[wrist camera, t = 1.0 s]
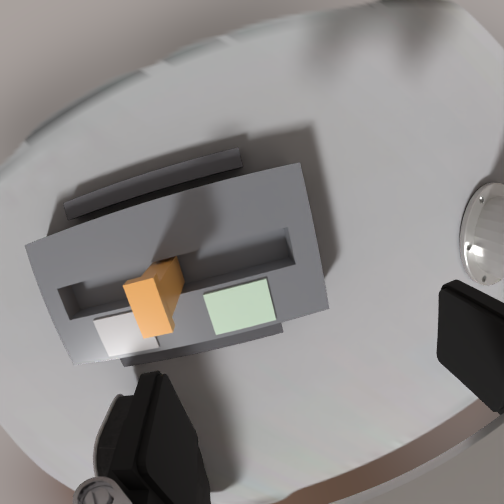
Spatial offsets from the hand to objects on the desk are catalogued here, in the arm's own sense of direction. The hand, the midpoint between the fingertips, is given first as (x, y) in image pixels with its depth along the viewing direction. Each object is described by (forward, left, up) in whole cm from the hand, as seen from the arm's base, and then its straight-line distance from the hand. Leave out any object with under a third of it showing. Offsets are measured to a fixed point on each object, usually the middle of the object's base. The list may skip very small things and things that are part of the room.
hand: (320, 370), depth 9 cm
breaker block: (+8, 0, -19) cm, 21 cm away
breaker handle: (+8, 0, -17) cm, 19 cm away
